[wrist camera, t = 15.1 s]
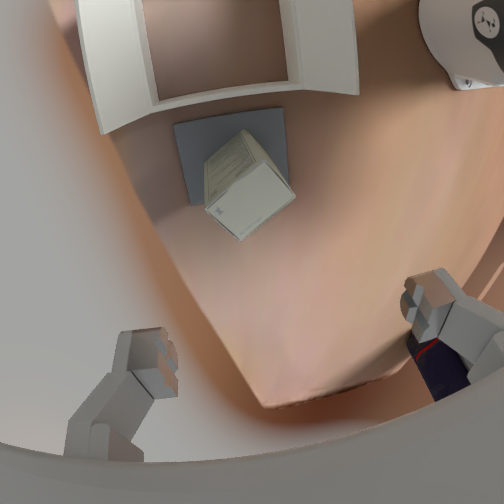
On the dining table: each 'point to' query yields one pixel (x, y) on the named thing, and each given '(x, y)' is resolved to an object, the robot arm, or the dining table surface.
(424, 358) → the dark blue bottle
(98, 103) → the carton
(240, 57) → the dining table surface
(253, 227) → the skincare box
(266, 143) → the mat
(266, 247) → the dining table surface
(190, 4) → the dining table surface
